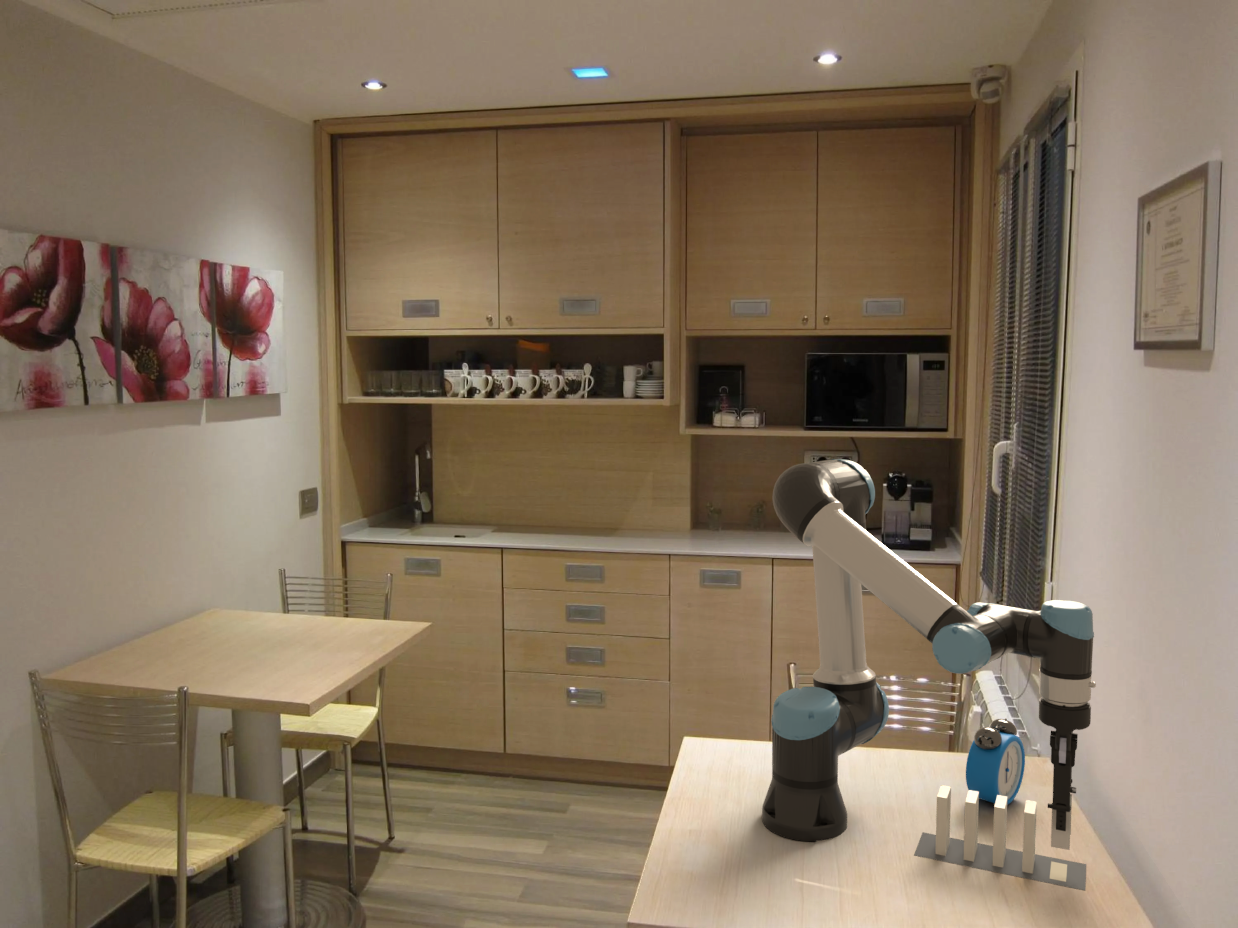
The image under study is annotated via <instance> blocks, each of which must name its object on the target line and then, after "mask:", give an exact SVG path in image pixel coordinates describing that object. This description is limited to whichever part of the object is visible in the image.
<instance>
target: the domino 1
mask: <svg viewBox="0 0 1238 928" xmlns="http://www.w3.org/2000/svg"><path fill="white" fill-rule="evenodd" d="M951 794H952V786H948V785H940V788H939V790H938V793H937V795H936V815H935V817H936V819H935V821H936V822H935V823H936V825H935V835H936V854H939V855H944V856H946V853H947V849H948V846H949V843H950V838H951V808H952V807H951V804H952V803H951V801H952V799H951V798H952V795H951Z"/></svg>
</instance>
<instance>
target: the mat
mask: <svg viewBox="0 0 1238 928" xmlns="http://www.w3.org/2000/svg"><path fill="white" fill-rule="evenodd" d="M913 856H915V857H920V858H924V859H929V860H934V861H939V862H944V863H949V864H954V865H957V866H963V867H968V868H972V869H978V870H983V871H988V872H993V873H997V874H1002V875H1007V876H1011V877H1015V878H1017V877H1018V878H1021V879H1027V880H1031V881H1037V882H1040V883H1041V882H1042V883H1047V884H1052V885H1056V886H1060V887H1066V888H1070V889H1074V890H1075V889H1076V890H1079V891H1086V884H1087V882H1086V881H1087V863H1081V862H1078V861H1073V860H1066V859H1061V858H1056V857H1052V856H1046V855H1042V854H1036V853H1035V861H1034V869H1033V874H1032V873H1027V872H1022V860H1023V851H1021V850H1015V849H1010V848H1006V855H1005V860H1004V865H1003V867H998V866H993V845H990V844H985V843H980V842H977V851H976V855H975V859H974V862H973V861H968V860H964V839H959V838H954V837H950V843H949V846H948V849H947V853H946V856H944V855H939V854H936V834H934V833H928V832H922V833H921V835H920V838H919V841H918V843H917V846H916V849H915V851H914V854H913Z"/></svg>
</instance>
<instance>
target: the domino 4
mask: <svg viewBox="0 0 1238 928" xmlns="http://www.w3.org/2000/svg"><path fill="white" fill-rule="evenodd" d="M1036 828H1037V800H1036V801H1035V800H1029V799H1026V800H1025V804H1024V811H1023V834H1022V835H1023V837H1022V852H1023V860H1022V872H1027V873H1032V874H1033V869H1034V861H1035V854H1036V833H1037V829H1036Z"/></svg>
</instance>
